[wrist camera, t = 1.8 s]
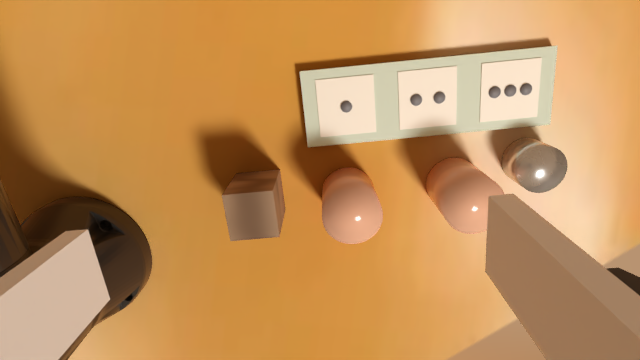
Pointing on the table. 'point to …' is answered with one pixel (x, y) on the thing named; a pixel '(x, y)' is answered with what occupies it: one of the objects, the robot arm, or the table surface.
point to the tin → (534, 164)
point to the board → (429, 96)
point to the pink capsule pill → (461, 194)
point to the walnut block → (254, 205)
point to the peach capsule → (350, 206)
